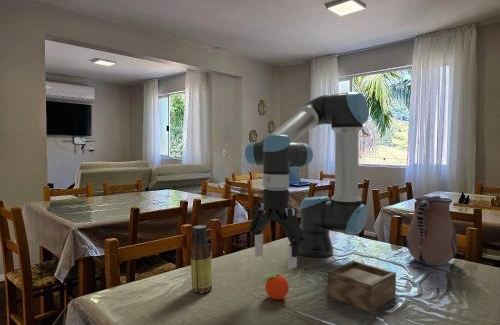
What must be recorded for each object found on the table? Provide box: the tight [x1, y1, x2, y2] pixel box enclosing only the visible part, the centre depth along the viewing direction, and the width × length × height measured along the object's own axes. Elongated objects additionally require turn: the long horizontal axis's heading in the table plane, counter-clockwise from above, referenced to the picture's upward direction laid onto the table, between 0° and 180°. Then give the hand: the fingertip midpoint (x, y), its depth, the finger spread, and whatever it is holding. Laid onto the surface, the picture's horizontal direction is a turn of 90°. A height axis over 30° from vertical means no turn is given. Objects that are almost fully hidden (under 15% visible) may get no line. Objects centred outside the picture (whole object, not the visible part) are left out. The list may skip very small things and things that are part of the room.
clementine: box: [262, 273, 290, 300], centre depth 102 cm, size 8×7×7 cm
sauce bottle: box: [190, 224, 213, 293], centre depth 107 cm, size 7×6×20 cm
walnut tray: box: [326, 260, 397, 314], centre depth 103 cm, size 14×14×8 cm
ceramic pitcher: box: [405, 195, 459, 266], centre depth 132 cm, size 18×21×25 cm
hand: (274, 261), depth 101 cm, fingers open, 13 cm apart
